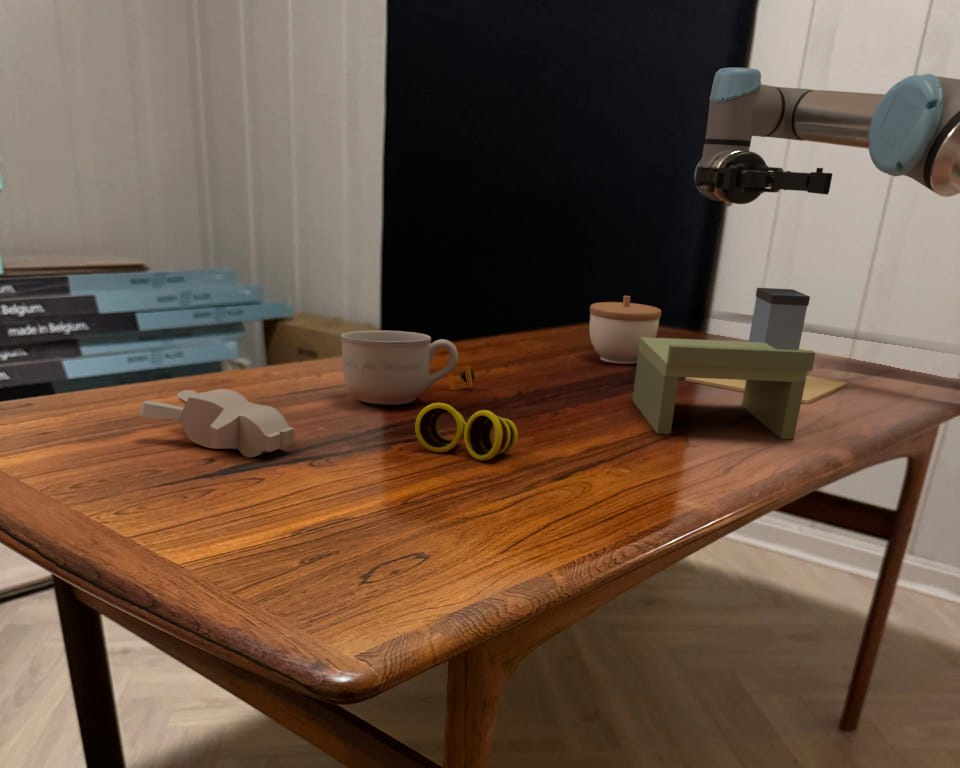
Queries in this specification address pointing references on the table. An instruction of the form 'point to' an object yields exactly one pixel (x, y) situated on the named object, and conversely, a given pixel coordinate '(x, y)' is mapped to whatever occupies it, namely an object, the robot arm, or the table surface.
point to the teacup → (391, 365)
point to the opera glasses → (466, 432)
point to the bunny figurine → (225, 421)
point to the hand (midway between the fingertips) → (780, 181)
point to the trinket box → (621, 329)
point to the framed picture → (463, 377)
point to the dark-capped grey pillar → (779, 317)
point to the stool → (765, 369)
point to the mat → (812, 391)
